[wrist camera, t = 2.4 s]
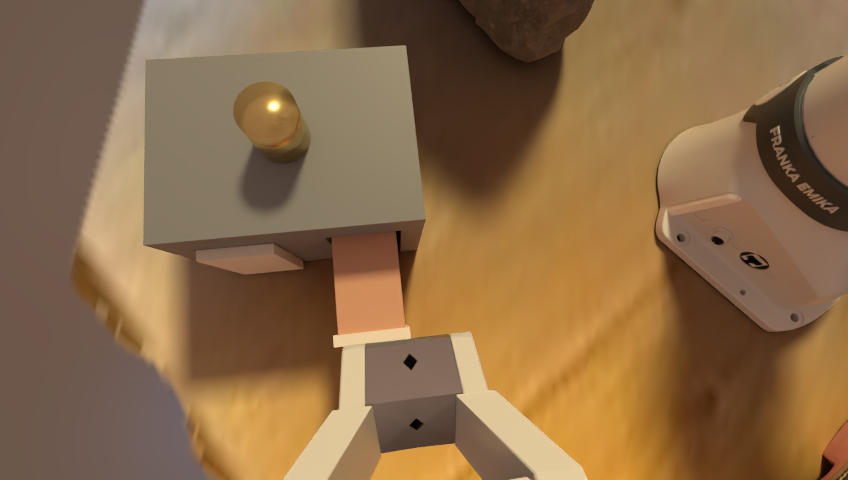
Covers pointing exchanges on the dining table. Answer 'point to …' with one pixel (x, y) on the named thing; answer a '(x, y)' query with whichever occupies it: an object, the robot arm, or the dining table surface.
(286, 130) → the brass dial
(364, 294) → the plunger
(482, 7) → the stone
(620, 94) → the dining table surface
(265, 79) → the grey cabinet
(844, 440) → the oxford shoe
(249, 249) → the thin beige tile
